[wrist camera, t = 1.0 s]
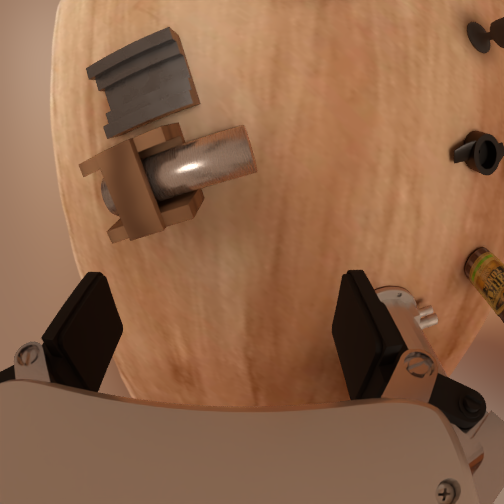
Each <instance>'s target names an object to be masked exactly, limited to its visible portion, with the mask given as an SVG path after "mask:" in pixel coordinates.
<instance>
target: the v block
mask: <svg viewBox="0 0 504 504" xmlns="http://www.w3.org/2000/svg"><path fill="white" fill-rule="evenodd" d="M86 70H87V74H88V78H89V79H90V80H96V83H97V87H98V90H99V91H105V93H106V96H107V100H108V103H109V106H110V109H111V111H110V112H108V113H106V116H107V119H108V122H109V124H107V125H105V126H104V130H105V133H106V136H107V139H109V138H113V137H116V136H120V135H123V134H125V133H127V132H130V131H132V130H134V129H136V128H139V127H141V126H143V125H146V124H148V123H150V122H153V121H155V120H158V119H160V118H163V117H165V116H168V115H170V114H173V113H176V112H178V111H181V110H184V109H187V108H189V107H192V106H195V105H198V104H200V101H199V98H198V94H197V91H196V88H195V85H194V82H193V79H192V76H191V72H190V69H189V66H188V63H187V60H186V57H185V53H184V50H183V47H182V44H181V41H180V38H179V35H178V34H177V33H175V32H174V31H173V30H172V29H171V28H170V27H167V28H165V29H163V30H160V31H158V32H155V33H153V34H151V35H148V36H146V37H144V38H142V39H140V40H138V41H135V42H133V43H131V44H129V45H127V46H125V47H123V48H121V49H119V50H117V51H115V52H114V53H112V54H110V55H108V56H106V57H104V58H103V59H101V60H99V61H97V62H96V63H94V64H92V65H91V66H89V67H87V68H86Z"/></svg>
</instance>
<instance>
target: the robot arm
mask: <svg viewBox="0 0 504 504" xmlns="http://www.w3.org/2000/svg"><path fill="white" fill-rule="evenodd" d="M432 313H433V308H432V306H431V305H430V306H427V307H424V308H422V309H418V308H417V304H416V301H415V299H414V297H413V296H412V295H411V293H410V292H409V291H407V290H405V289H404V288H400V287H384V288H381V289H377V290H374V289H373V287H372V285H371V283H370V281H369V280H368V278H367V276H366V274H365V273H364V271H363V270H348V271H347V274H343V276H342V280H341V285H340V290H339V296H338V301H337V306H336V310H335V315H334V320H333V324H332V335H333V338H334V341H335V345H336V348H337V352H338V355H339V359H340V362H341V366H342V370H343V373H344V377H345V380H346V384H347V388H348V392H349V395H350V399H351V400H349V401H341V402H331V403H319V404H305V405H290V406H262V407H233V406H204V405H188V404H176V403H166V402H157V401H148V400H141V399H134V398H126V397H120V396H115V395H109V394H103V393H98V390H99V388H100V385H101V383H102V380H103V378H104V375H105V373H106V370H107V368H108V365H109V363H110V360H111V358H112V356H113V353H114V351H115V349H116V346H117V344H118V342H119V340H120V337H121V335H122V332H123V325H122V322H121V319H120V317H119V314H118V311H117V308H116V305H115V302H114V299H113V297H112V294H111V290H110V287H109V284H108V281H107V278H106V277H105V276H103V274H102V273H101V272H88V273H87V274H86V275H85V276H84V278H83V279H82V280H81V282H80V283H79V284H78V286H77V287H76V288H75V290H74V291H73V292H72V294H71V295H70V297H69V298H68V299H67V301H66V302H65V304H64V305H63V306H62V308H61V309H60V311H59V312H58V313H57V315H56V317H55V318H54V319H53V321H52V323H51V324H50V325H49V327H48V328H47V330H46V331H45V333H44V334H43V336H42V340H43V342H44V343H43V345H41V344H40V343H38V342H29V343H26V344H24V345H23V346H21V347H20V348H19V349H18V351H17V352H16V354H15V356H14V365H13V366H11V367H9V368H7V369H5V370H3V371H1V372H0V504H494V503H493V502H494V501H495V499H496V498H497V496H498V494H499V493H500V492H501V490H502V488H503V487H504V421H503V420H501V419H500V418H499V417H498V416H497V415H496V414H495V413H494V412H492V411H490V412H489V413H488V412H487V411H486V403H485V400H484V398H483V397H482V395H480V393H478V392H477V391H475V390H473V389H471V388H469V387H467V386H464V385H463V384H461V383H459V382H456V381H454V380H452V379H450V378H448V377H447V375H446V373H445V371H444V369H443V367H442V365H441V363H440V361H439V360H438V358H437V356H436V354H435V352H434V350H433V349H432V347H431V345H430V343H429V341H428V340H427V338H426V336H425V334H424V333H423V331H422V329H423V328H426V327H430V326H433V325H436V324H437V323H438V318H437V315H436V314H435V313H433V314H432ZM429 314H430V315H429ZM422 316H425V317H424V318H421V317H422Z"/></svg>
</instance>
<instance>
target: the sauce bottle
mask: <svg viewBox="0 0 504 504" xmlns="http://www.w3.org/2000/svg"><path fill="white" fill-rule="evenodd" d="M465 273H466V276H467V277H468V278H469V279H470V281H471V283H472V284H473V285H474V286H475V288H476V289H477V290H478V291H479V293H480V294H481V295H482V296H483V297H484V299H485V300H486V301H487V302H488V304H489V305H490V306H491V307H492V309H493V310H494V311H495V313H496V314H497V315H498V316H499V317H500V318H501V320H502V321H503V323H504V264H503V263H502V262H501V261H500V260H499V259H498V258H497V257H496V256H495V255H494V254H492V253H491V252H489V251H488V250H487V249H486V248H480V249H478V250H476V251H475V252H474V253H473V254H472V255H471V256H470V257H469V259H468V261H467V263H466V265H465Z"/></svg>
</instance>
